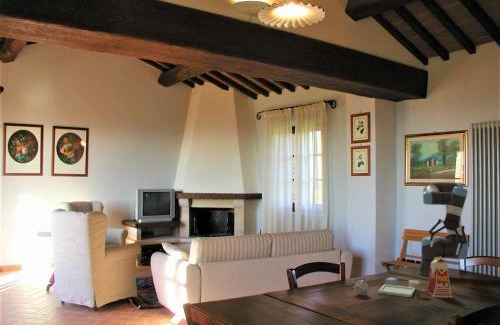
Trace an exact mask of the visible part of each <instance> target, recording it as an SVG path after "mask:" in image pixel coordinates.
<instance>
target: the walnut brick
mask: <svg viewBox="0 0 500 325" xmlns="http://www.w3.org/2000/svg"><path fill="white" fill-rule="evenodd" d="M429 295H430V294H429V290H428V288H427V289H426V288H424V287H423V288H420V289H417V290H416V297H417V298H418V299H423V300H424V298H425V299H429V298H430V296H429Z"/></svg>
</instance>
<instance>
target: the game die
mask: <svg viewBox="0 0 500 325" xmlns="http://www.w3.org/2000/svg"><path fill="white" fill-rule="evenodd" d="M354 280H355V282H354V285H353V287H352V288H351V290H354V291H355V293H356V294H357V296H358V297H360V296H366V297H368V294H367V293H368V292H369V289H370V287H372V285H369V284H368V283H367V282H366V281H365V278H363V279H360V280H359V279H358V280H357V279H356V278H355V279H354Z"/></svg>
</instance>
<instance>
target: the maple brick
mask: <svg viewBox="0 0 500 325" xmlns="http://www.w3.org/2000/svg"><path fill="white" fill-rule="evenodd" d="M408 287H414V288H415V291H417V289H421V282H420V281H419V280H411V279H409V280H408Z"/></svg>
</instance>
